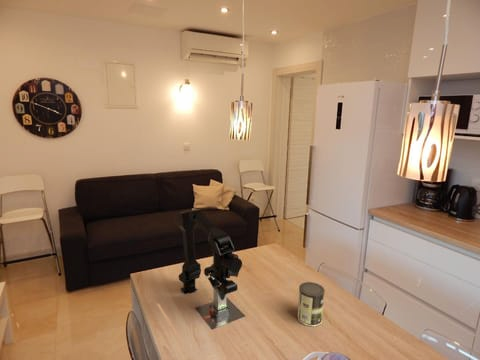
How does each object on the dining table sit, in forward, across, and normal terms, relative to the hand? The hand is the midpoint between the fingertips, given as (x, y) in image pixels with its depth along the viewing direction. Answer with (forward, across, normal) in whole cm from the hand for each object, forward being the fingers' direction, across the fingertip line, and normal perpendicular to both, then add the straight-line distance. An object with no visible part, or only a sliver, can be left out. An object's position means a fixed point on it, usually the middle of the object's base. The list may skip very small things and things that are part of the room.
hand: (219, 297), depth 131 cm
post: (+4, 0, 0) cm, 4 cm away
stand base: (+8, 0, 0) cm, 8 cm away
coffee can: (+8, -22, -31) cm, 39 cm away
